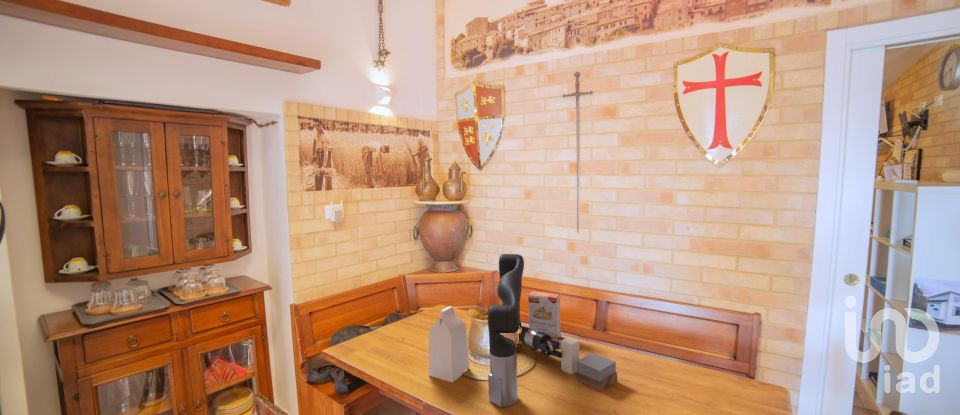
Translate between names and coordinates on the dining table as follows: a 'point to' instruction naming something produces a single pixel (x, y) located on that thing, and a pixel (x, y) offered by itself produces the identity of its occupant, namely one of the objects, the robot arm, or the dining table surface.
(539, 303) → the cracker box
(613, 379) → the tower base
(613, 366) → the tower top
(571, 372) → the cream block
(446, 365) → the milk
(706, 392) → the dining table surface
